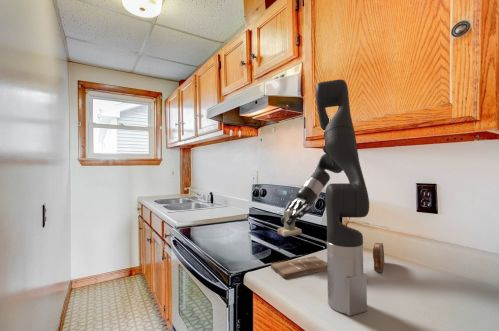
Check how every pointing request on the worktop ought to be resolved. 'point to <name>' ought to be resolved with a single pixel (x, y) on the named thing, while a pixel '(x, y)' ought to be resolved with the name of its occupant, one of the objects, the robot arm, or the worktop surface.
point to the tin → (378, 257)
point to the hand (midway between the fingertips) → (285, 223)
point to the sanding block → (288, 229)
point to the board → (299, 267)
